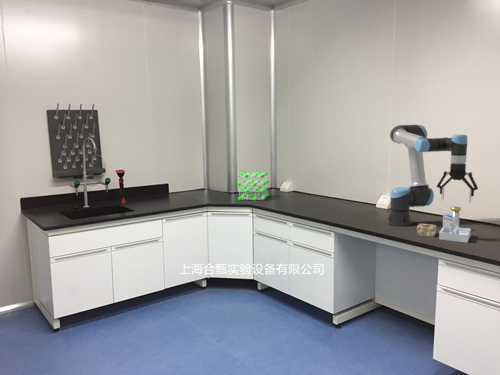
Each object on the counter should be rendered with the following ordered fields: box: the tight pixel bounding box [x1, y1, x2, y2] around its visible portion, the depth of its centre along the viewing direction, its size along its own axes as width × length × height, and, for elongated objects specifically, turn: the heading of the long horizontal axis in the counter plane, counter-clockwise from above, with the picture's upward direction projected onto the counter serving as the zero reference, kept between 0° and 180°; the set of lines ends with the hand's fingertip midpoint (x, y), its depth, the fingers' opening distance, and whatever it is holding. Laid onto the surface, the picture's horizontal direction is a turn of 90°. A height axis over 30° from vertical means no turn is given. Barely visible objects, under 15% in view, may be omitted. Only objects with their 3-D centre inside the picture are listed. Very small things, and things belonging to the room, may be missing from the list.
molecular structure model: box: [237, 171, 270, 201], centre depth 371 cm, size 24×25×24 cm
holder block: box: [416, 223, 437, 238], centre depth 234 cm, size 9×9×5 cm
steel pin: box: [450, 206, 462, 234], centre depth 225 cm, size 5×5×16 cm
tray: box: [438, 226, 472, 243], centre depth 226 cm, size 14×16×4 cm
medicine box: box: [442, 213, 452, 228], centre depth 245 cm, size 8×4×9 cm, turn 24°
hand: (456, 201), depth 224 cm, fingers open, 13 cm apart
